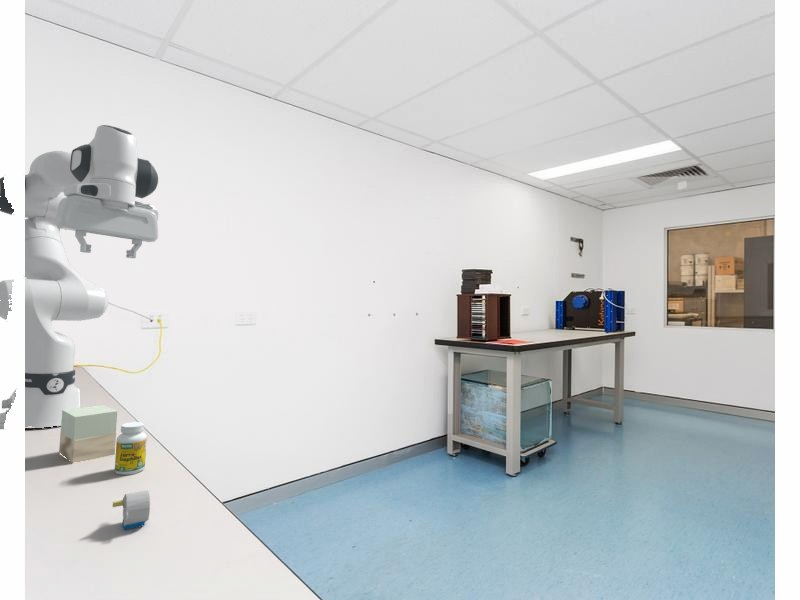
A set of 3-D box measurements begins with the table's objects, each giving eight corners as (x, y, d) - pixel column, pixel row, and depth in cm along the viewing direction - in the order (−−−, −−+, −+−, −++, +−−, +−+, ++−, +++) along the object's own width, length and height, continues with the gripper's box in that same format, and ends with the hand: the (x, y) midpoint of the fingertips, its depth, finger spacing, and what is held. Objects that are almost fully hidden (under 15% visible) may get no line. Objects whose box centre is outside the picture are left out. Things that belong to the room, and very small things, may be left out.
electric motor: (109, 520, 70) (111, 489, 70) (143, 513, 73) (145, 483, 73) (112, 540, 64) (115, 506, 64) (149, 531, 67) (151, 499, 67)
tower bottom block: (58, 455, 96) (60, 432, 96) (99, 447, 103) (101, 426, 103) (72, 464, 92) (74, 440, 92) (114, 455, 98) (116, 433, 98)
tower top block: (60, 432, 97) (62, 410, 97) (101, 425, 103) (103, 404, 103) (73, 440, 92) (75, 417, 92) (115, 433, 98) (117, 411, 98)
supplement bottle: (144, 464, 94) (147, 419, 94) (145, 473, 89) (148, 426, 89) (114, 468, 91) (117, 422, 91) (114, 477, 86) (117, 429, 86)
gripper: (152, 207, 111) (149, 261, 111) (55, 186, 94) (50, 249, 94) (165, 205, 108) (161, 260, 107) (66, 182, 91) (61, 248, 90)
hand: (109, 255), depth 101 cm, fingers open, 8 cm apart
